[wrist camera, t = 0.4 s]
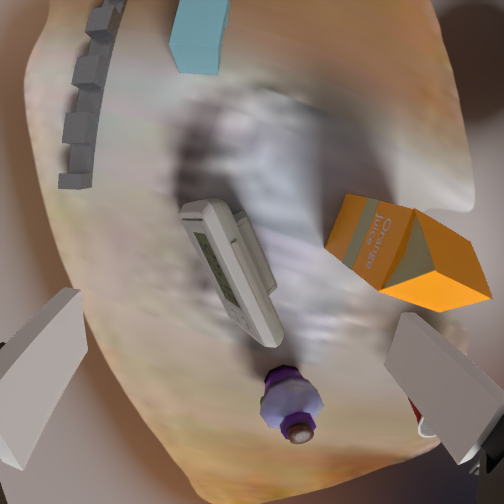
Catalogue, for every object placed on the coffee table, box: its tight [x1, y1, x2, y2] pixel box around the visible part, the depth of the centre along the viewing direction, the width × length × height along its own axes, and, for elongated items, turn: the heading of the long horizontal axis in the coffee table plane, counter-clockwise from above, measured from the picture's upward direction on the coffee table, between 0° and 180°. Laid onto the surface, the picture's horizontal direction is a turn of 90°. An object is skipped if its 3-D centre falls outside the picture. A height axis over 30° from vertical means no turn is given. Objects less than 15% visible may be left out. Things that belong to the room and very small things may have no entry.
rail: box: [58, 0, 127, 190], centre depth 28 cm, size 28×3×4 cm, turn 173°
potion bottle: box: [260, 365, 324, 444], centre depth 37 cm, size 9×9×12 cm
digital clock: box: [179, 198, 284, 348], centre depth 32 cm, size 16×9×11 cm, turn 11°
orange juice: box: [325, 193, 492, 313], centre depth 29 cm, size 8×9×20 cm
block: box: [169, 0, 230, 76], centre depth 26 cm, size 9×4×9 cm, turn 173°
